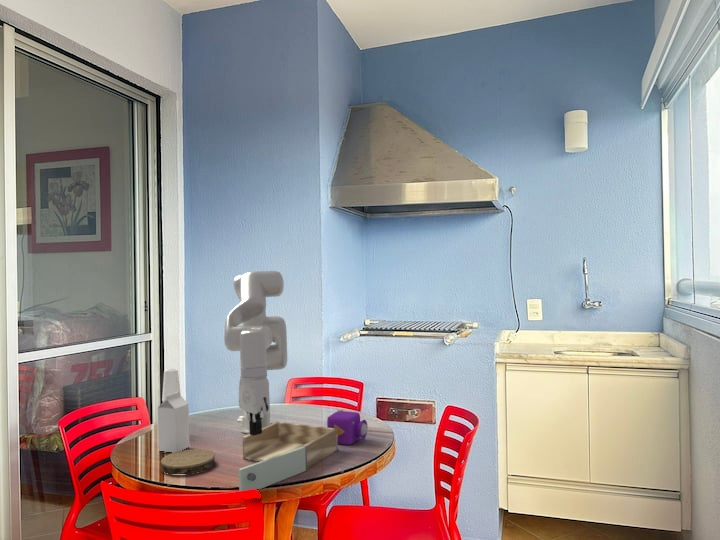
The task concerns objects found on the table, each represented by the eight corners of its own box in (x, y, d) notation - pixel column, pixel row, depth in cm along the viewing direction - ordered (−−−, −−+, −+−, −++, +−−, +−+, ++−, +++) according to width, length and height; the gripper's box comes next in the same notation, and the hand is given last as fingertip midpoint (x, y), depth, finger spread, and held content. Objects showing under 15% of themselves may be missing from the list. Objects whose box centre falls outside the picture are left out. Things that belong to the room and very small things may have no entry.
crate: (243, 459, 176) (242, 437, 176) (277, 441, 193) (277, 421, 193) (307, 469, 165) (306, 446, 165) (338, 450, 182) (337, 428, 182)
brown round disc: (163, 480, 160) (163, 470, 160) (159, 463, 175) (158, 454, 175) (219, 470, 167) (218, 460, 167) (210, 455, 182) (210, 446, 182)
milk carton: (189, 447, 189) (188, 392, 189) (176, 454, 183) (174, 396, 183) (172, 445, 192) (170, 391, 192) (158, 452, 185) (157, 395, 185)
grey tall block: (167, 438, 200) (165, 372, 200) (160, 434, 205) (158, 370, 205) (185, 434, 205) (183, 369, 205) (177, 430, 210) (175, 367, 210)
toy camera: (365, 447, 184) (364, 417, 184) (325, 445, 187) (324, 416, 187) (371, 437, 195) (370, 409, 195) (333, 436, 198) (332, 408, 198)
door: (244, 497, 145) (244, 471, 145) (239, 495, 147) (238, 469, 147) (311, 470, 163) (310, 447, 163) (305, 469, 165) (304, 445, 165)
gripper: (229, 370, 164) (231, 431, 165) (256, 378, 153) (258, 443, 154) (251, 366, 169) (253, 425, 170) (279, 373, 158) (281, 436, 159)
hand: (255, 433), depth 162 cm, fingers closed
